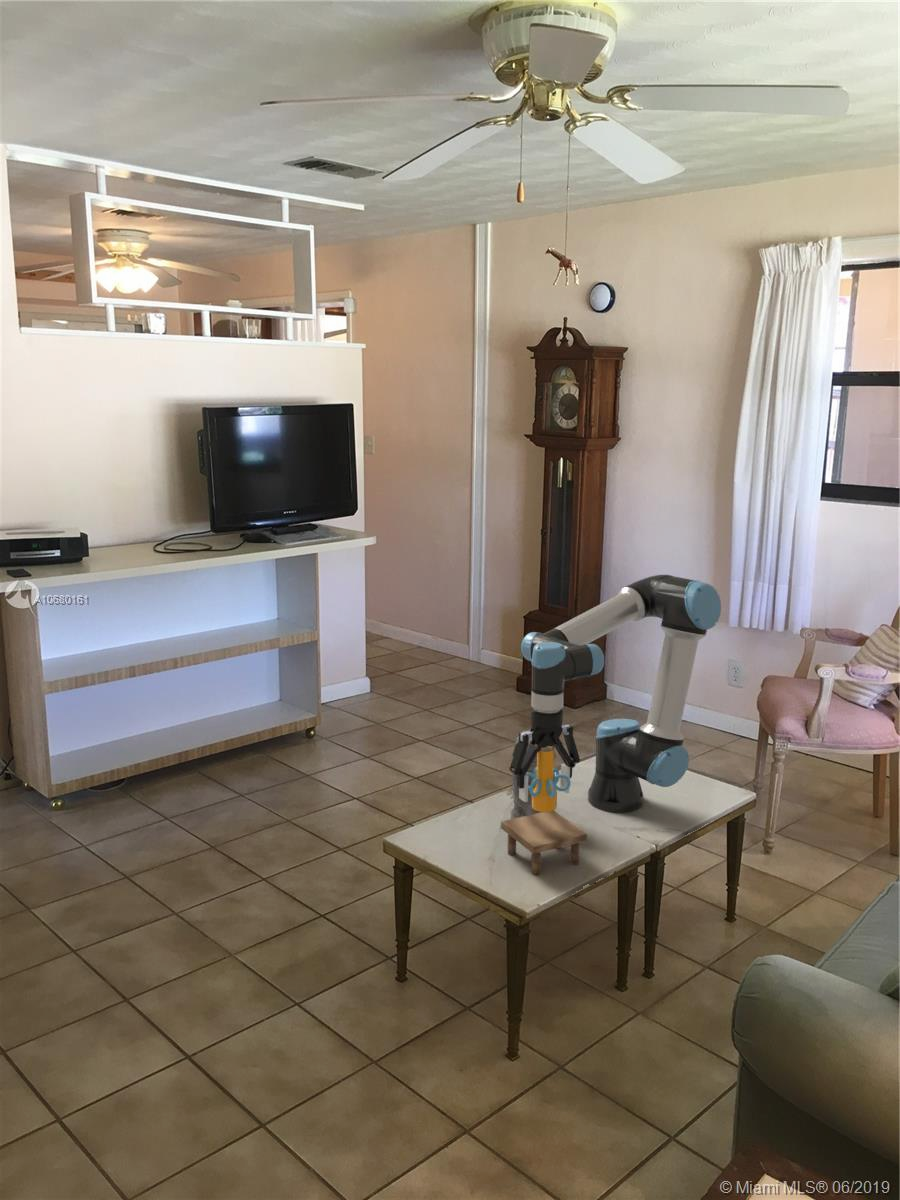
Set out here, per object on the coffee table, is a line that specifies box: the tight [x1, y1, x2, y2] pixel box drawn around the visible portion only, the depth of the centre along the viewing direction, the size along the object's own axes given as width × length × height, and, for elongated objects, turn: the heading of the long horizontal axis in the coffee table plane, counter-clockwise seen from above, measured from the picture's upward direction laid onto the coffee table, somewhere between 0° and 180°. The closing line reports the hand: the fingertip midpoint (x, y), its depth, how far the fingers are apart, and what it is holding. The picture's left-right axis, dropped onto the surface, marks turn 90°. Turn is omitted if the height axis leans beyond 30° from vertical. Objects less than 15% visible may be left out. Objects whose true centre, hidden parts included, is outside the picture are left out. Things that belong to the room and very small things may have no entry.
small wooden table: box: [500, 810, 588, 876], centre depth 233 cm, size 15×15×8 cm
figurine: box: [509, 729, 557, 819], centre depth 252 cm, size 10×14×25 cm
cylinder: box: [526, 746, 572, 812], centre depth 229 cm, size 12×10×15 cm
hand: (544, 795), depth 230 cm, fingers closed on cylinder, 11 cm apart
